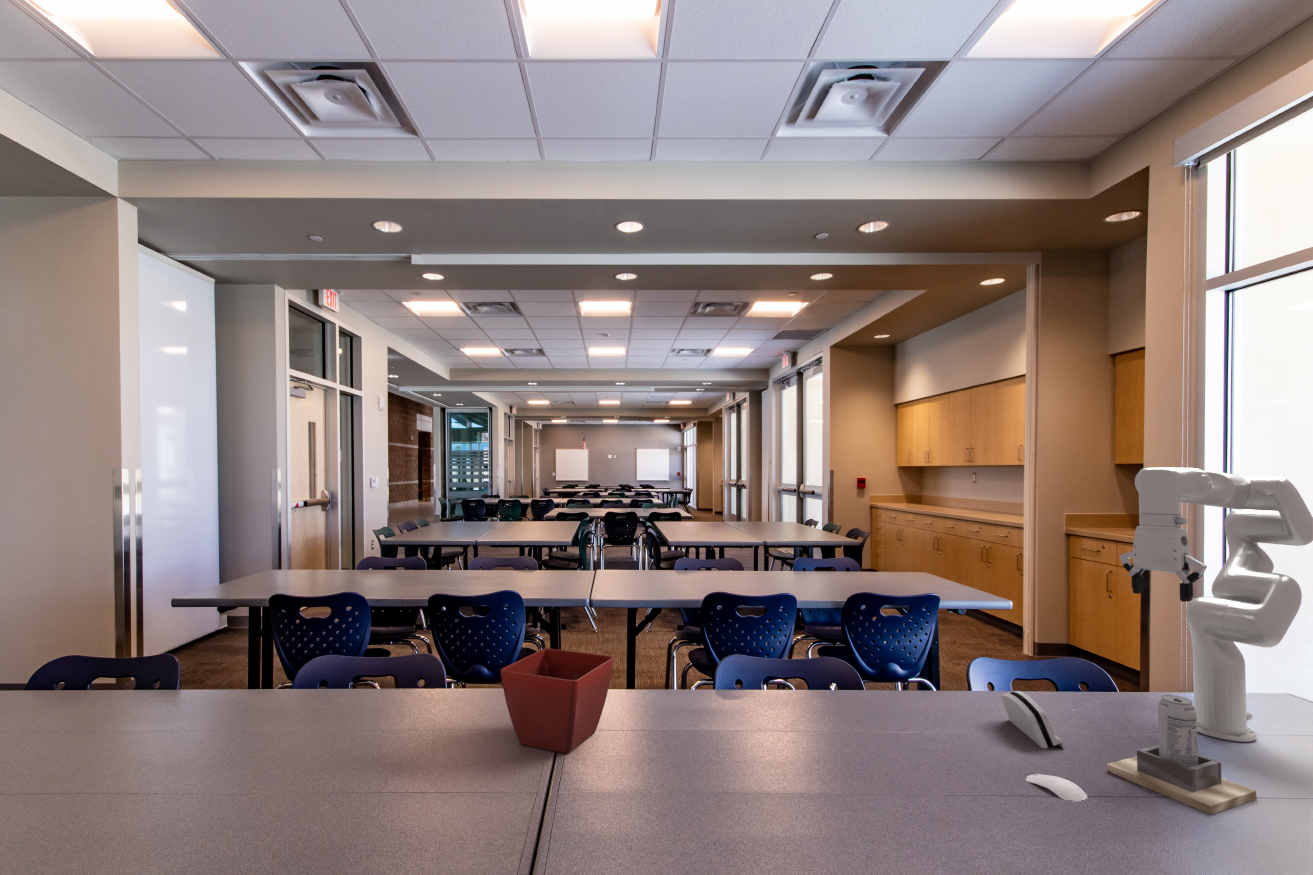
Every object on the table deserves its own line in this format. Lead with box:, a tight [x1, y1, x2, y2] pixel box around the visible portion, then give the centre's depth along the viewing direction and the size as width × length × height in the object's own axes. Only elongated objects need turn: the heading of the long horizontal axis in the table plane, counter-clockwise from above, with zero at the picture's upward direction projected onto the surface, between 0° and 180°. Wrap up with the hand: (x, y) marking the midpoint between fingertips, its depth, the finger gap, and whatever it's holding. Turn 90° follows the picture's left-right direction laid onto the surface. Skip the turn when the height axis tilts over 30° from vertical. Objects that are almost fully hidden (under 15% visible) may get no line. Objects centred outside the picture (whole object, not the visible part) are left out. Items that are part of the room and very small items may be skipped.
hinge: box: [1001, 690, 1066, 750], centre depth 152 cm, size 17×5×10 cm, turn 175°
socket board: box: [1106, 744, 1257, 816], centre depth 127 cm, size 15×18×6 cm
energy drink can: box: [1157, 694, 1199, 767], centre depth 128 cm, size 6×6×15 cm
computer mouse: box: [1025, 773, 1088, 802], centre depth 126 cm, size 7×12×2 cm, turn 21°
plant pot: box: [500, 648, 614, 754], centre depth 145 cm, size 19×19×17 cm
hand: (1161, 596), depth 147 cm, fingers open, 9 cm apart
